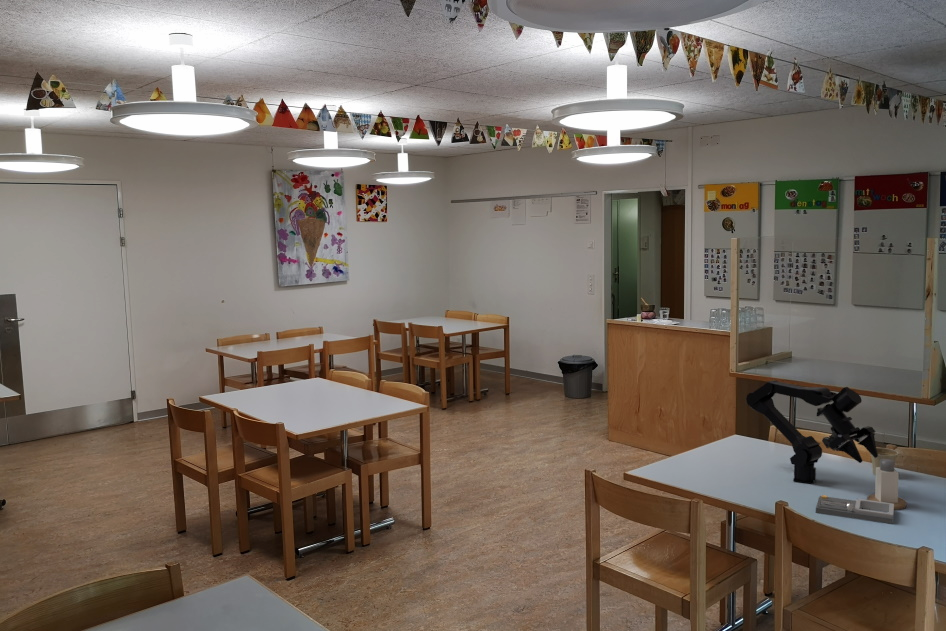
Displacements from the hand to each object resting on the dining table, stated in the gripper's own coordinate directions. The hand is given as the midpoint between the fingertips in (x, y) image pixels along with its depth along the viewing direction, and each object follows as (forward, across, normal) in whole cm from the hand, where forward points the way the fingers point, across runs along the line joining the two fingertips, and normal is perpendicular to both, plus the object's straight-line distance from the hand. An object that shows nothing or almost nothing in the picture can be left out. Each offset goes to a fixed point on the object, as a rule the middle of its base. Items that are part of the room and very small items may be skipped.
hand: (869, 459), depth 243 cm
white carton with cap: (+13, 0, -4) cm, 13 cm away
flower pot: (+3, -27, -16) cm, 32 cm away
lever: (+10, +21, -8) cm, 25 cm away
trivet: (+14, 0, -5) cm, 14 cm away
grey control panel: (+12, +14, -6) cm, 20 cm away
